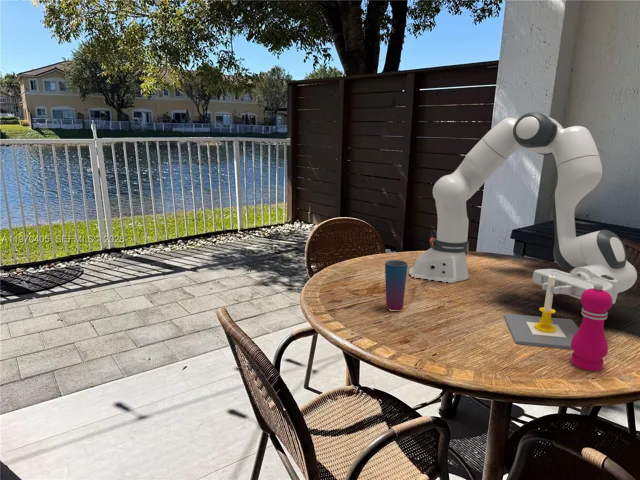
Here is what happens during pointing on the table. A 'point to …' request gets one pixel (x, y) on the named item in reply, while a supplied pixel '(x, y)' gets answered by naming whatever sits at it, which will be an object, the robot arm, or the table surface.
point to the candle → (547, 310)
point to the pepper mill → (592, 330)
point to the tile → (530, 335)
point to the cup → (395, 283)
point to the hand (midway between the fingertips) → (548, 288)
